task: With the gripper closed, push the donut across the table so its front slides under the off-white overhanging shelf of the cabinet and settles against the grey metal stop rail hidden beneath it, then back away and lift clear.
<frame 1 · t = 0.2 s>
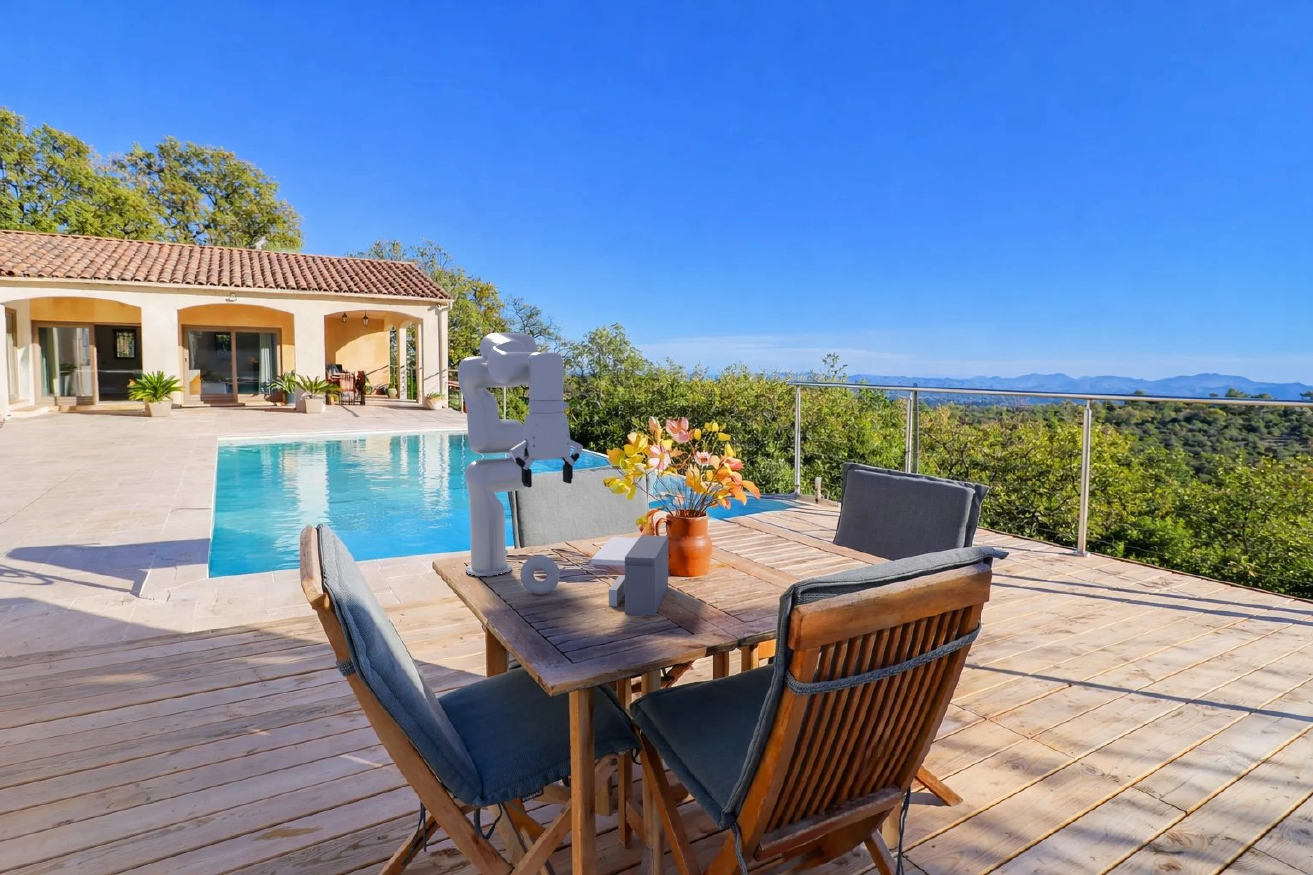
hand: (547, 484, 158), 31 cm above the table, tool pointing down, fingers open, 9 cm apart
donut: (540, 595, 178), on the table
ledge cabinet: (629, 598, 174), on the table
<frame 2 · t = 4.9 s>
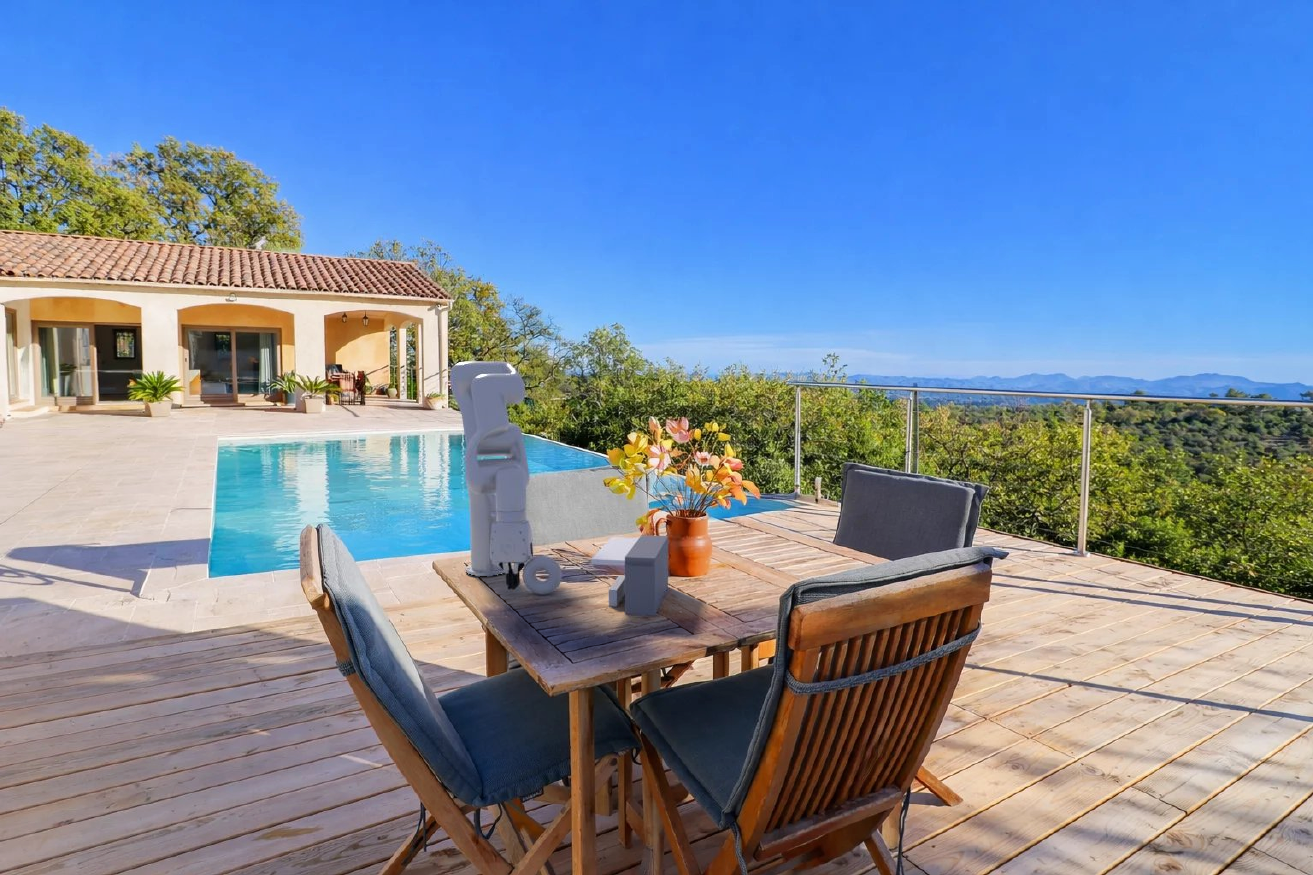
hand: (513, 587, 179), 1 cm above the table, tool pointing down, fingers closed
donut: (542, 595, 178), on the table, touching gripper
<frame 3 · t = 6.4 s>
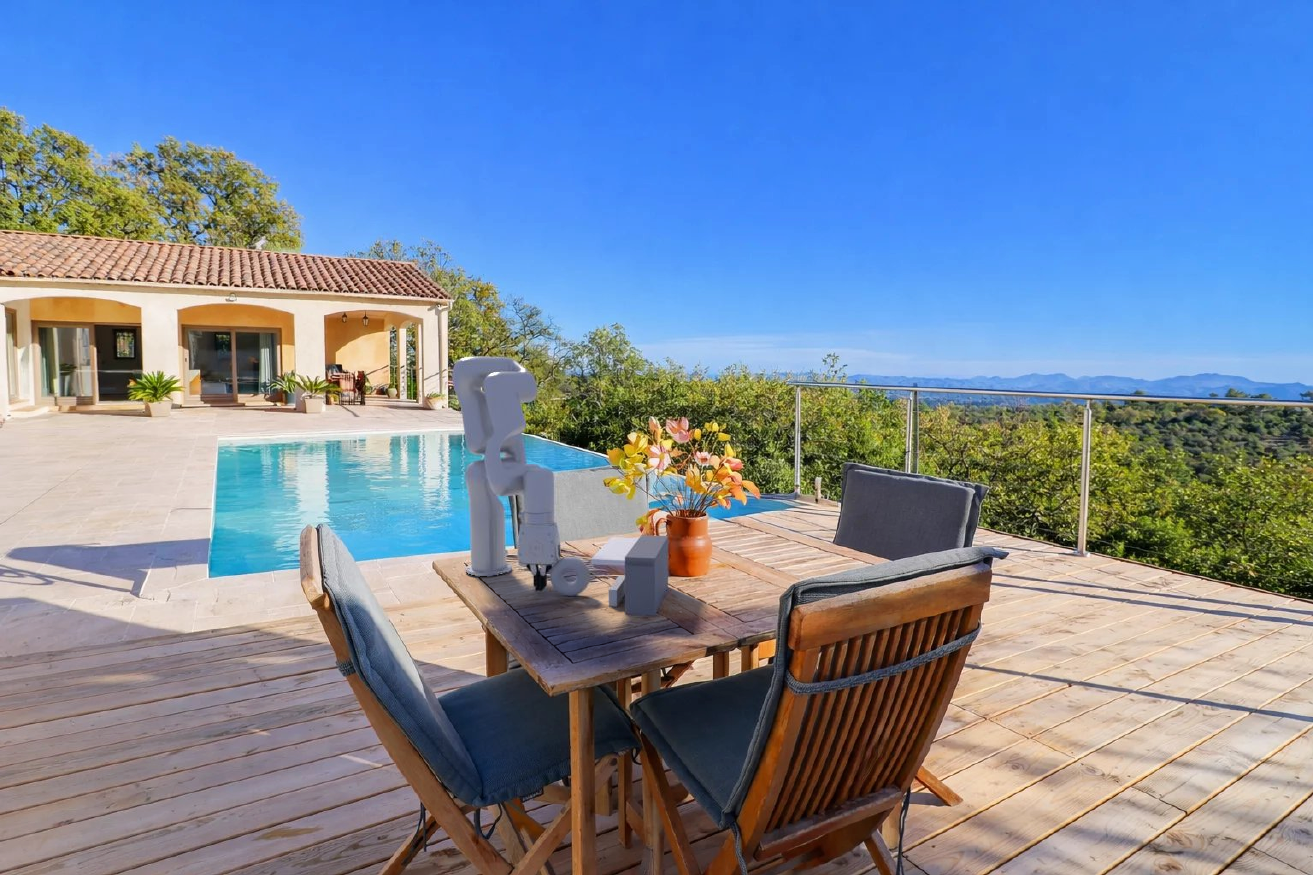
hand: (540, 589, 178), 1 cm above the table, tool pointing down, fingers closed
donut: (570, 596, 177), on the table, touching gripper
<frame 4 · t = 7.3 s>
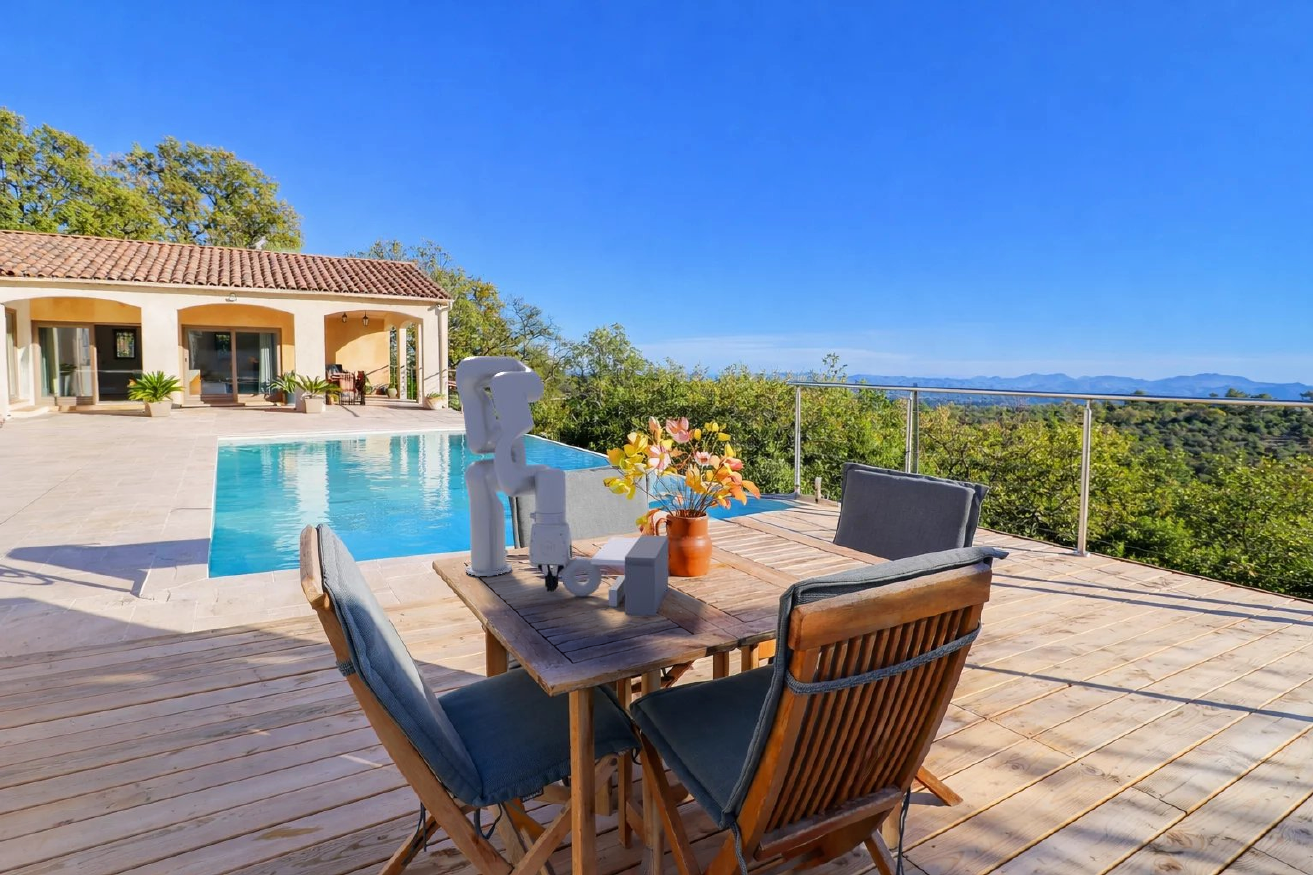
hand: (551, 589, 177), 1 cm above the table, tool pointing down, fingers closed
donut: (581, 597, 176), on the table, touching gripper
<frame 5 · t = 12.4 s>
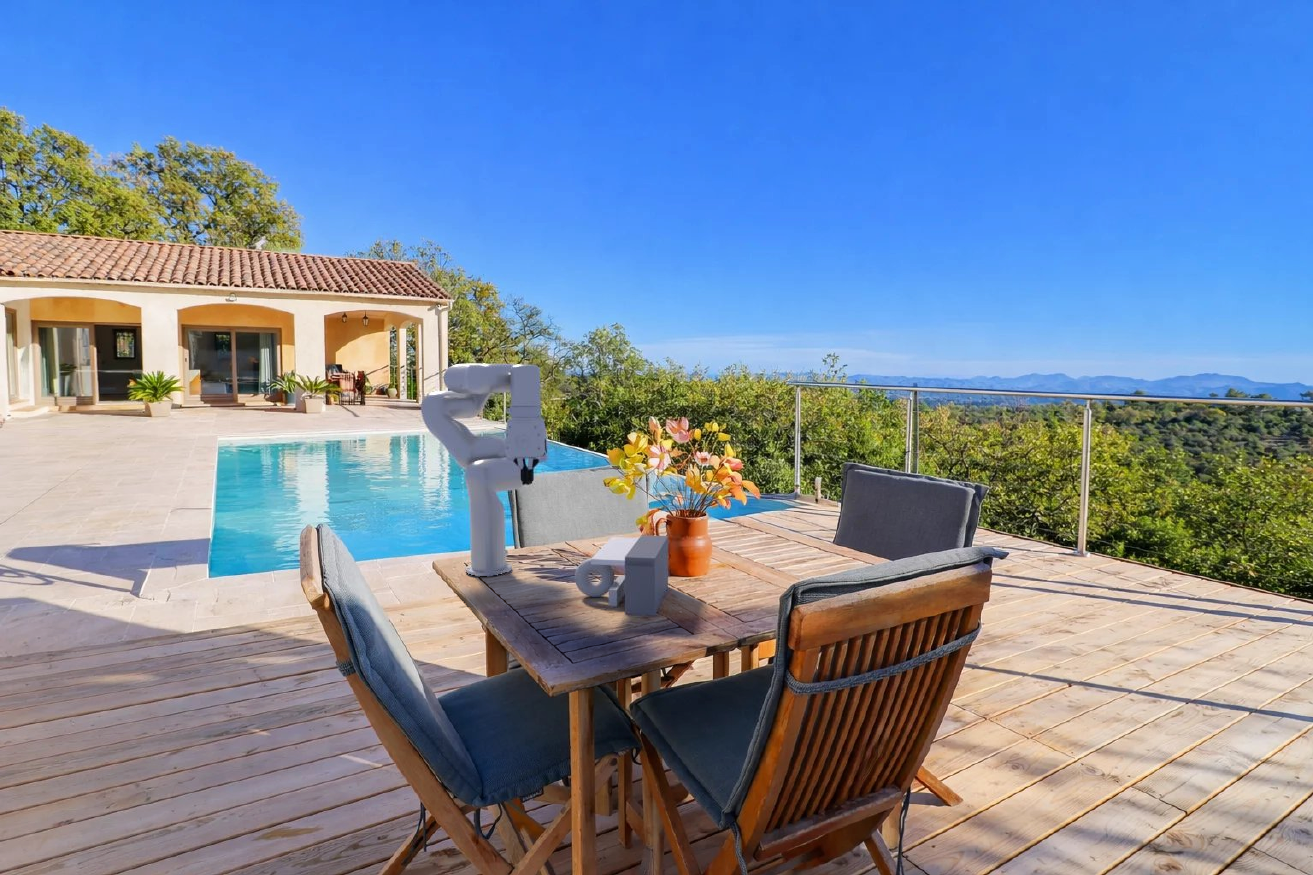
hand: (527, 483, 182), 27 cm above the table, tool pointing down, fingers closed
donut: (594, 597, 176), on the table
at the end: donut inside the target area on the table beside the ledge cabinet (1.1 cm from its centre), on the table; donut tilted 0°; donut moved 14.1 cm from its start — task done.
